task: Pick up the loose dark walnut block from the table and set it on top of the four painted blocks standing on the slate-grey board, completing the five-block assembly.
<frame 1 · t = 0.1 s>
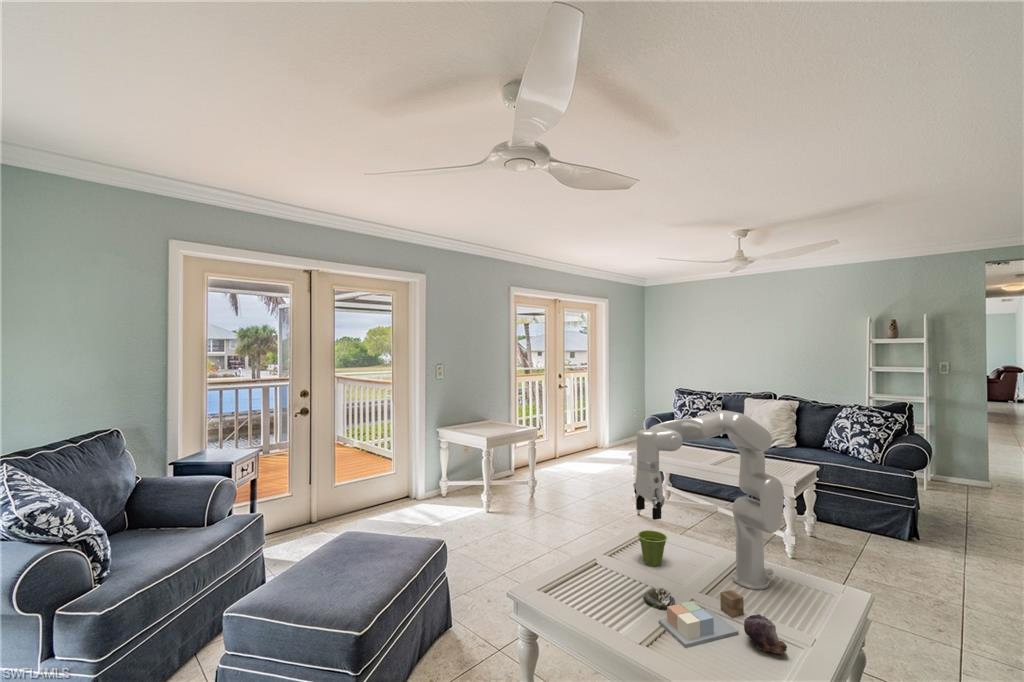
hand: (648, 514, 161), 31 cm above the table, fingers open, 9 cm apart
assembly board: (697, 628, 146), on the table
walnut block: (732, 612, 155), on the table
terracotta block: (678, 624, 147), point 1 cm above the table, touching assembly board
rock: (762, 647, 137), on the table
cream block: (688, 633, 142), point 1 cm above the table, touching assembly board
sage block: (691, 621, 149), point 1 cm above the table, touching assembly board
plant pot: (652, 563, 191), on the table
blue block: (701, 630, 144), point 1 cm above the table, touching assembly board
grey oval shell: (659, 602, 162), on the table
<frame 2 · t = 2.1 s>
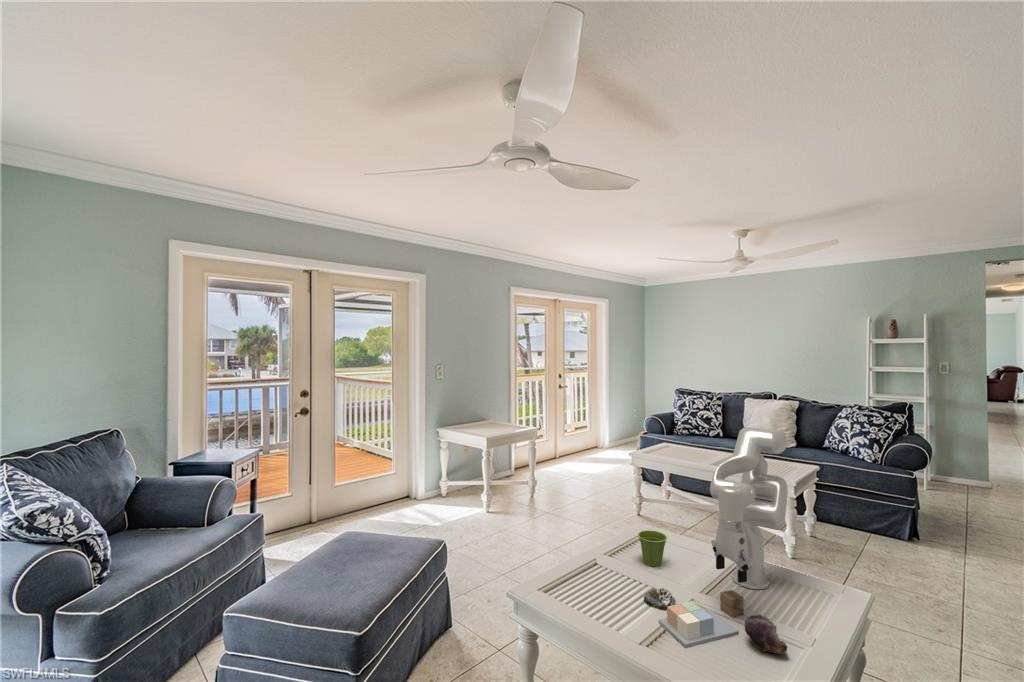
hand: (731, 575, 155), 13 cm above the table, fingers open, 9 cm apart
nothing on the table moved.
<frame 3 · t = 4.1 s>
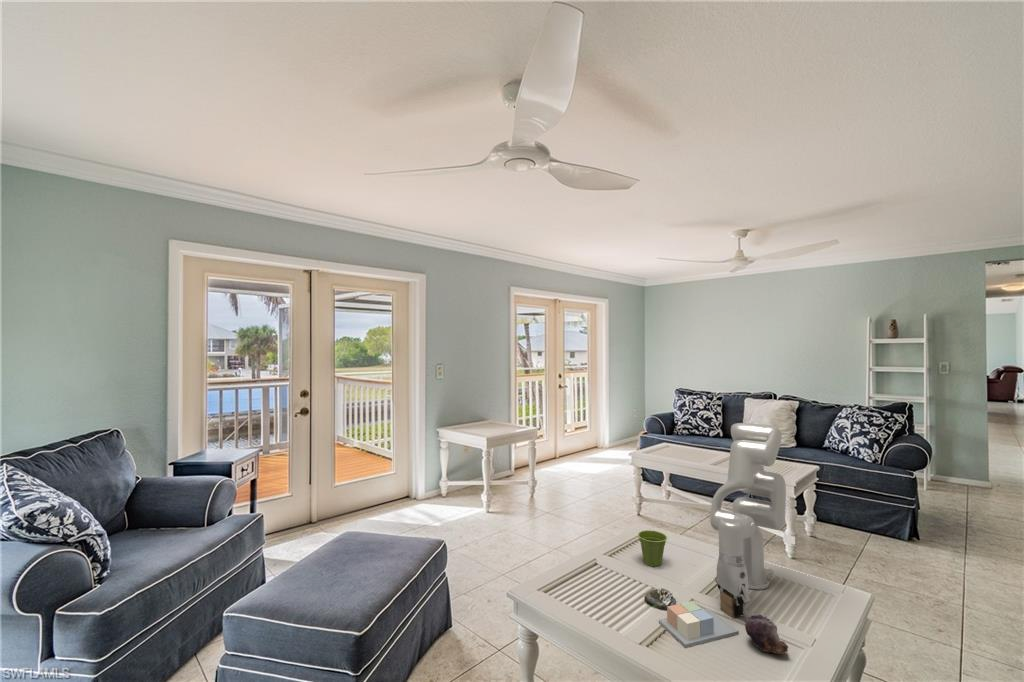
hand: (731, 610, 155), 1 cm above the table, fingers closed on walnut block, 5 cm apart
walnut block: (731, 612, 155), on the table, touching gripper
everything else where it was.
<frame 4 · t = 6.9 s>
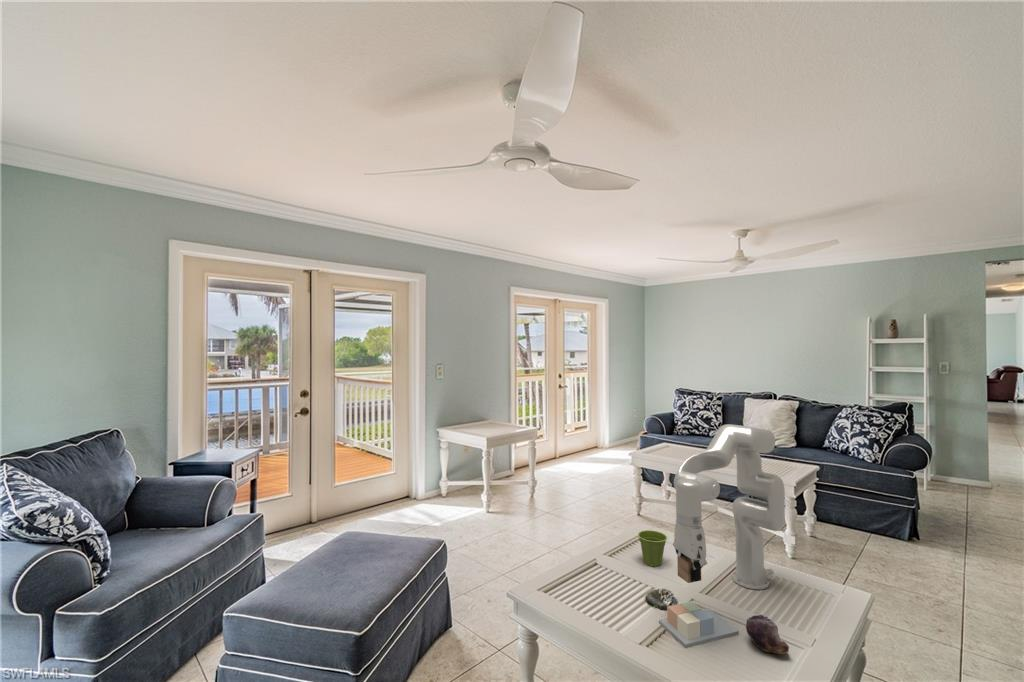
hand: (689, 575, 146), 17 cm above the table, fingers closed on walnut block, 5 cm apart
walnut block: (689, 577, 146), point 17 cm above the table, touching gripper
everything else where it was.
when the fingers open (7 cm above the table, at t = 9.5 s): walnut block stays where it is, resting on blue block, cream block, sage block, terracotta block.
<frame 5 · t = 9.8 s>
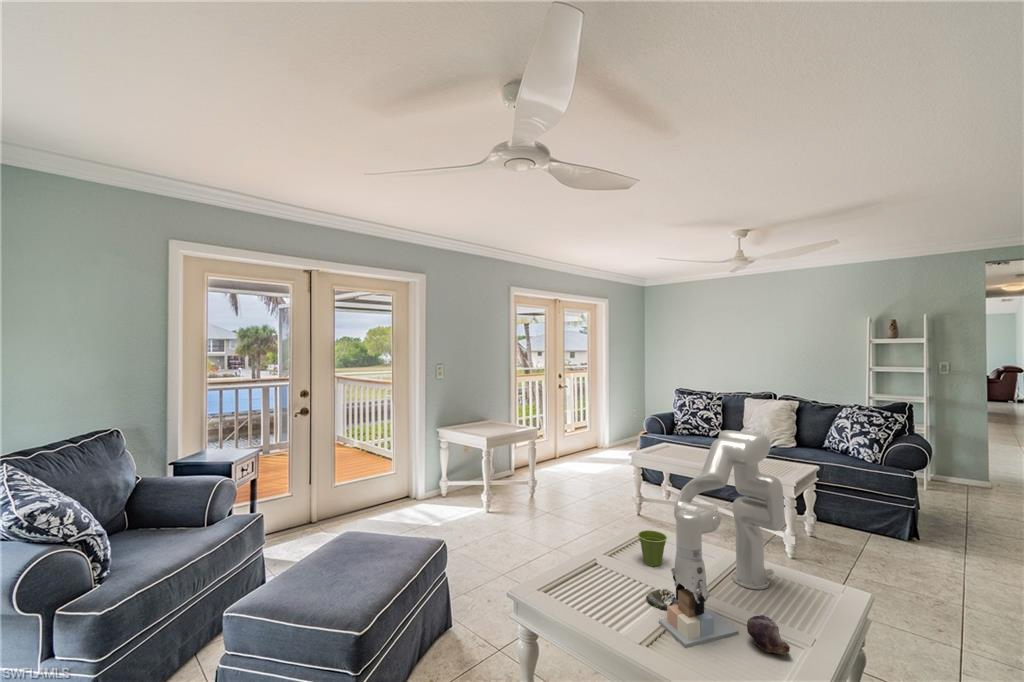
hand: (689, 606, 146), 8 cm above the table, fingers open, 8 cm apart
walnut block: (689, 611, 146), point 6 cm above the table, touching blue block, cream block, sage block, terracotta block
terracotta block: (678, 624, 147), point 1 cm above the table, touching assembly board, walnut block
cream block: (688, 633, 142), point 1 cm above the table, touching assembly board, walnut block
sage block: (691, 621, 149), point 1 cm above the table, touching assembly board, walnut block
blue block: (701, 630, 144), point 1 cm above the table, touching assembly board, walnut block
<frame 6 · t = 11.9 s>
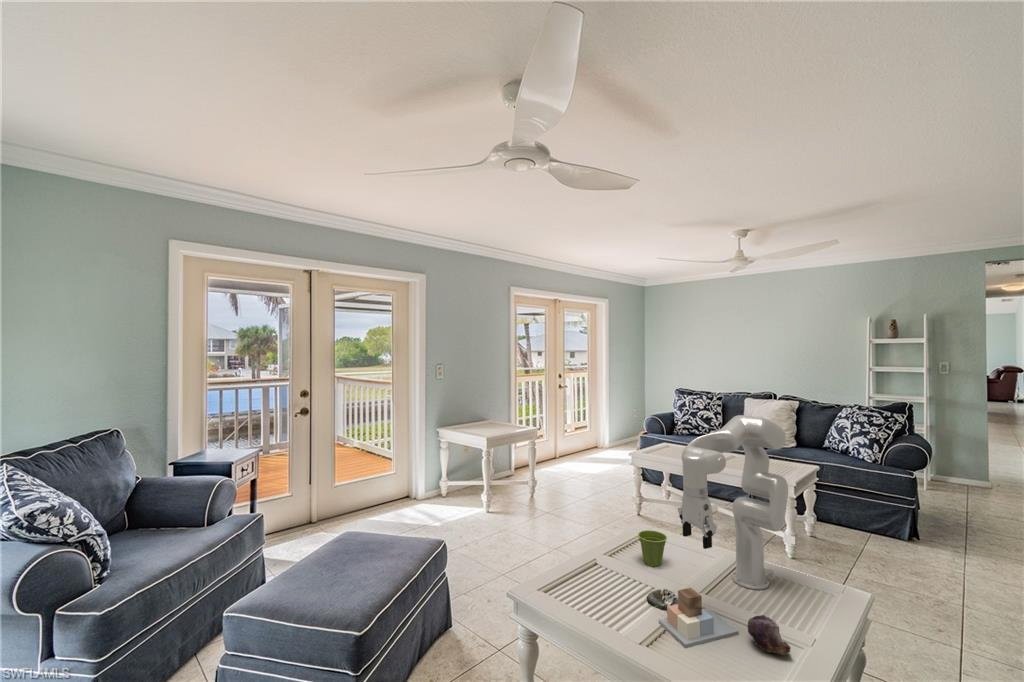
hand: (697, 541, 154), 25 cm above the table, fingers open, 9 cm apart
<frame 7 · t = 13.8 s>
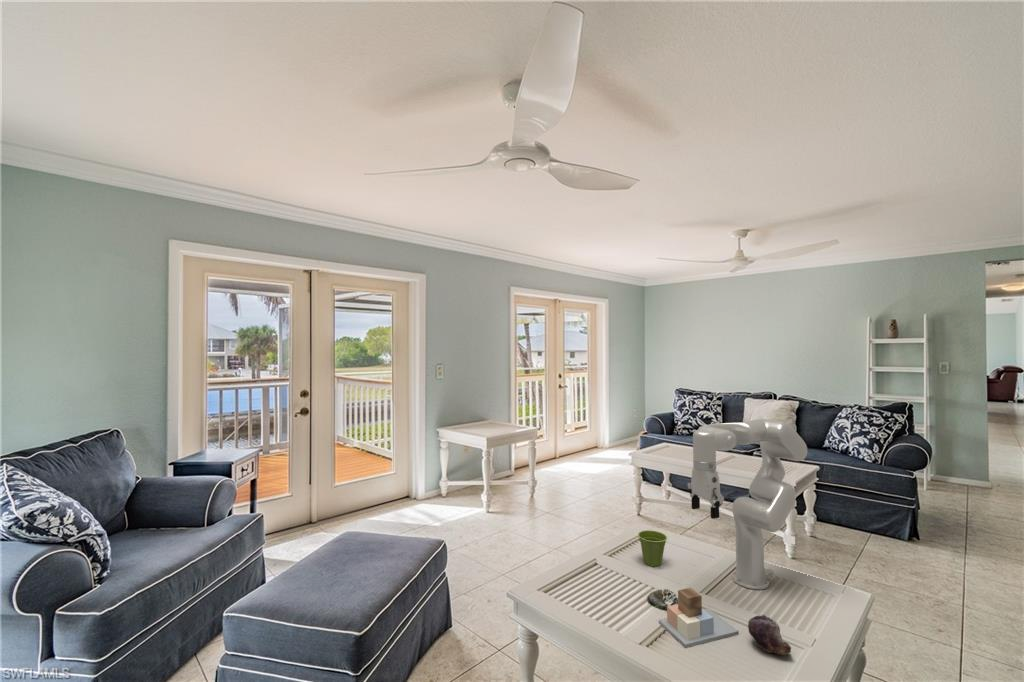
hand: (705, 513, 164), 30 cm above the table, fingers open, 9 cm apart
at the end: walnut block inside the target area (0.1 cm from its centre), point 5.8 cm above the table; walnut block tilted 0°; the gripper is holding nothing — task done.
